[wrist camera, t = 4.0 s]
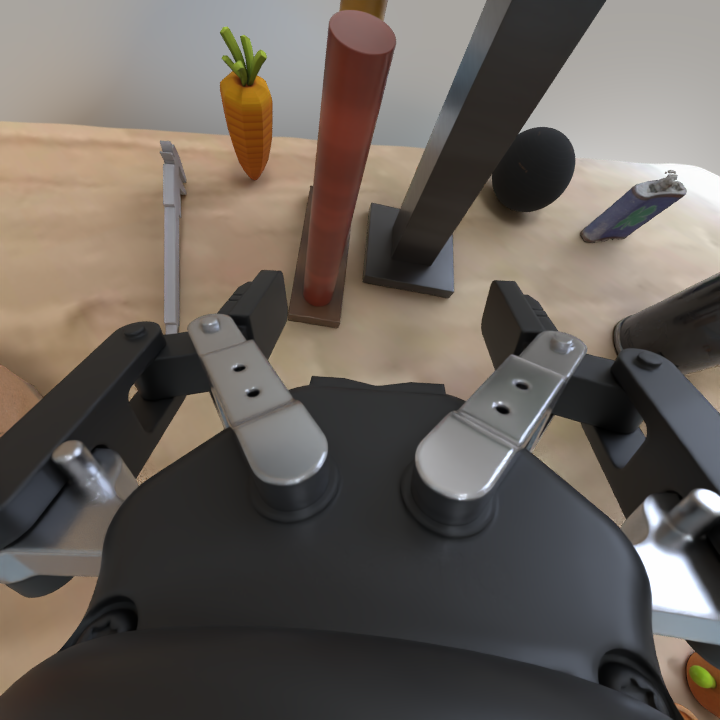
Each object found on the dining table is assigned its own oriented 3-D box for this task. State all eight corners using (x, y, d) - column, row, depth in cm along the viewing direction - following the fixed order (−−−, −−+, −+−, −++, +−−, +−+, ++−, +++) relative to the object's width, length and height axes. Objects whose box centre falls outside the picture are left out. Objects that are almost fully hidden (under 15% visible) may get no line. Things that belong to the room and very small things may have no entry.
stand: (449, 316, 42) (836, -89, 13) (360, 300, 40) (569, -214, 11) (447, 214, 48) (708, -227, 18) (369, 196, 46) (522, -322, 17)
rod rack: (338, 328, 38) (418, 88, 15) (287, 320, 37) (293, 53, 14) (352, 204, 45) (423, -94, 22) (309, 194, 44) (337, -126, 21)
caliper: (177, 181, 41) (159, 130, 35) (187, 181, 41) (171, 131, 35) (167, 339, 34) (143, 309, 28) (179, 339, 34) (158, 309, 29)
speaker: (541, 188, 54) (594, 127, 44) (537, 237, 50) (595, 180, 41) (482, 165, 53) (524, 97, 44) (474, 212, 49) (518, 148, 40)
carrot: (283, 184, 44) (282, 45, 30) (249, 200, 42) (233, 59, 28) (258, 158, 44) (247, 10, 31) (225, 173, 42) (196, 21, 29)
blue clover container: (584, 244, 51) (655, 186, 41) (575, 228, 52) (643, 167, 42) (629, 239, 54) (706, 183, 44) (620, 223, 55) (694, 165, 45)
